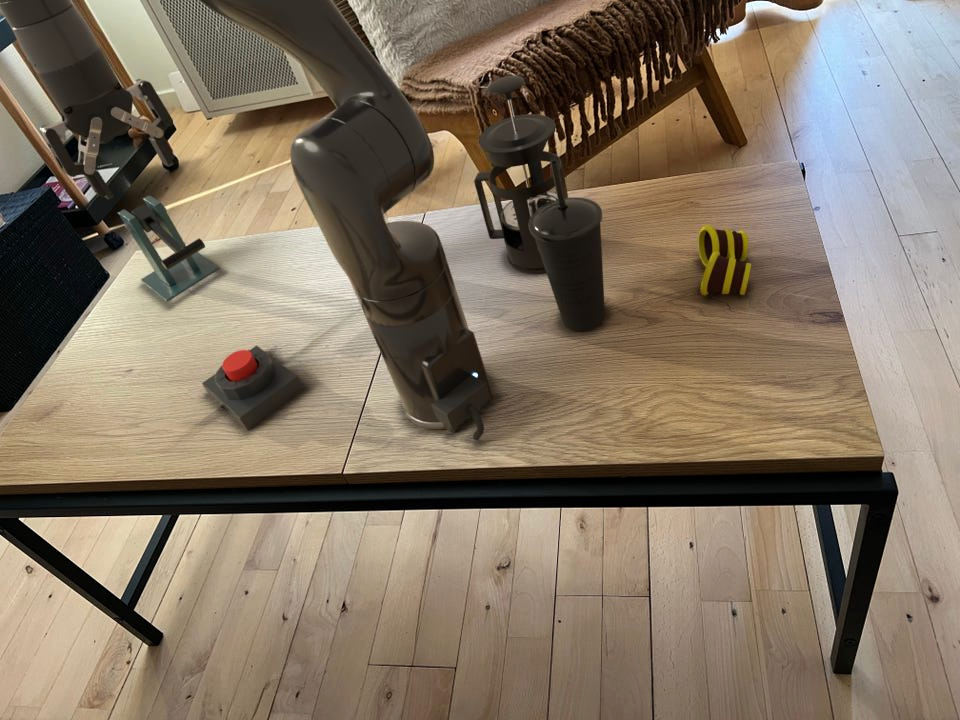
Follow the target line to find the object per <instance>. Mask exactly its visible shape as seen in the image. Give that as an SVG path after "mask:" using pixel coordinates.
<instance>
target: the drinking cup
mask: <svg viewBox="0 0 960 720" xmlns="http://www.w3.org/2000/svg"><path fill="white" fill-rule="evenodd" d="M550 167H551V172H552V176H553V177H554V182H555V187H554V189H555V193H557V198H558V200H555V201H552V202H550V203H548V204H545V205H544V206H542V207H540V208H539V209H538V210H536V211H535V212H534V213H533V214H532V216H531V217H530V220H529V224H528V226H529V230H530V233H531V234H532V235H533V236H534V237H535V240H536V243H537V246H538V250H539V252H540V255H541V258H542V261H543V264H544V267H545V270H546V272H545V273H546V276H547V279H548V281H549V285H550V288H551V291H552V294H553V297H554V299H555V303H556V305H557V306H556V307H557V308H558V311H559V314H560V317H561V320H562V323H563V325H564V326H565V328H566V329H568V330H570V331H572V332H578V333H583V332H589V331H592V330H594V329H597V328H598V327H599V326H601V324H602V323H603V322H604V321H605V318H606V307H605V288H604V268H603V265H604V264H603V248H602V247H603V246H602V229H601V228H602V227H601V223H602V220H603V210H602V208H601V206H600V204H598V203H597V202H596V201H594V200H592V199H589V198H586V197H579V196H578V197H575V196H574V197H573V196H572V197H568V198H564V193H563V188H562V183H561V177H560V172H559V166H558V162H557V161H552V162H550Z"/></svg>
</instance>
